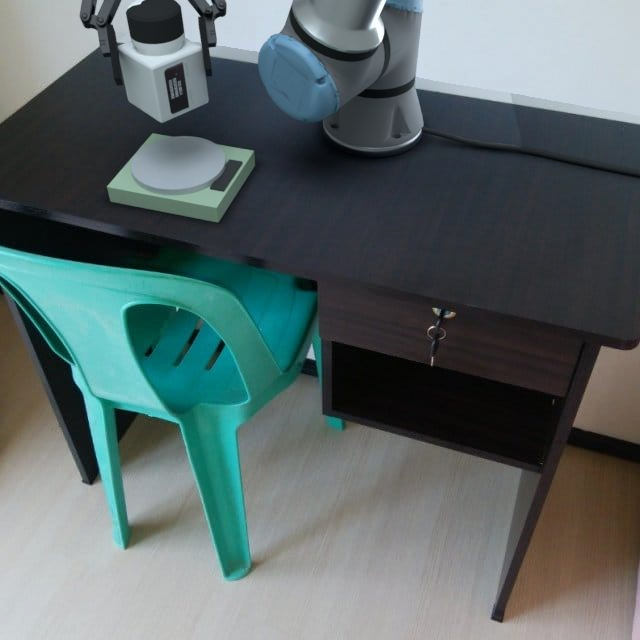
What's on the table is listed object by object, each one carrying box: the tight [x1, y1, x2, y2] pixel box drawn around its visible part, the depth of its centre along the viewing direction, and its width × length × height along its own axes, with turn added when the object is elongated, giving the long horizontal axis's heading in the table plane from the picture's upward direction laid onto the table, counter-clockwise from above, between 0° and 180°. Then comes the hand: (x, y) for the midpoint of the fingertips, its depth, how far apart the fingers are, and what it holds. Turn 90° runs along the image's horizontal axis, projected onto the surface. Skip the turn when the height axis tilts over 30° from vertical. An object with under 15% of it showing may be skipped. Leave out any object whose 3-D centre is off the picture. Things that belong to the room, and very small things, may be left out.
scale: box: [106, 132, 256, 223], centre depth 105 cm, size 16×14×4 cm
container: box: [117, 0, 210, 124], centre depth 93 cm, size 8×8×13 cm
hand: (164, 77), depth 92 cm, fingers closed on container, 10 cm apart
